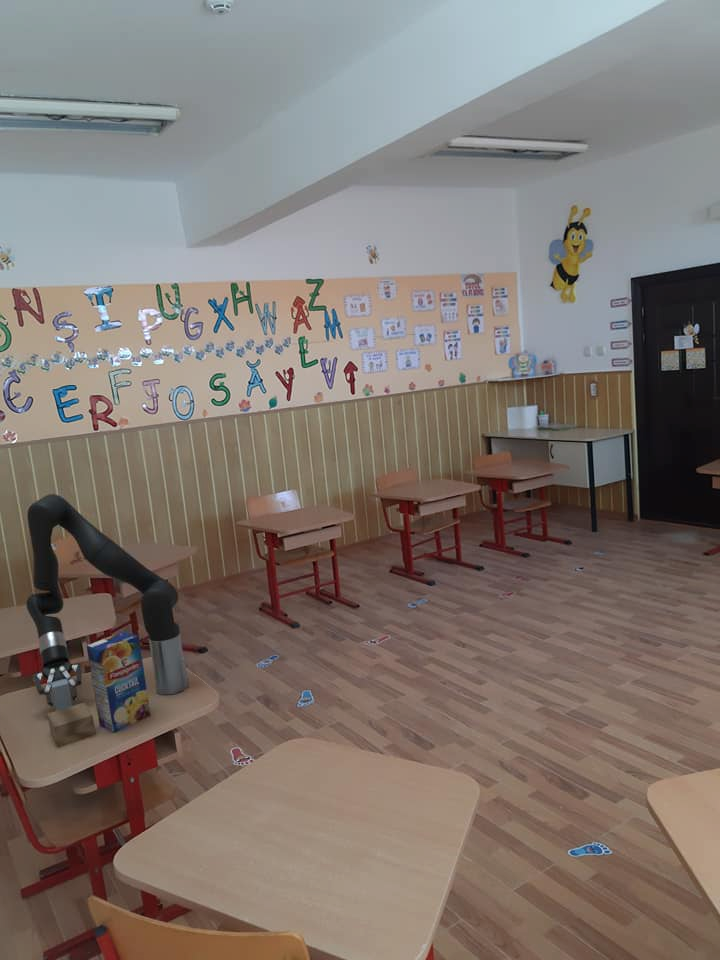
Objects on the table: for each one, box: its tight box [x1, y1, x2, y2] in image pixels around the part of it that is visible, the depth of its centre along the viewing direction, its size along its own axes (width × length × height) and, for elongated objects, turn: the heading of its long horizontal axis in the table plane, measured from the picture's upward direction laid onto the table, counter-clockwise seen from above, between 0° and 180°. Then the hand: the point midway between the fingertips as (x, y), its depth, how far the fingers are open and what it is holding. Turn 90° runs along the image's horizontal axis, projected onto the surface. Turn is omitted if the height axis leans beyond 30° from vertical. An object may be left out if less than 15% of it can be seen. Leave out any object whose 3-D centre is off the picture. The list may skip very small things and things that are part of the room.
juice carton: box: [86, 631, 151, 734], centre depth 210 cm, size 12×8×24 cm, turn 139°
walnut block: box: [46, 702, 97, 748], centre depth 206 cm, size 10×10×6 cm
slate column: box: [51, 679, 73, 711], centre depth 218 cm, size 4×4×10 cm
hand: (63, 701), depth 217 cm, fingers open, 5 cm apart
